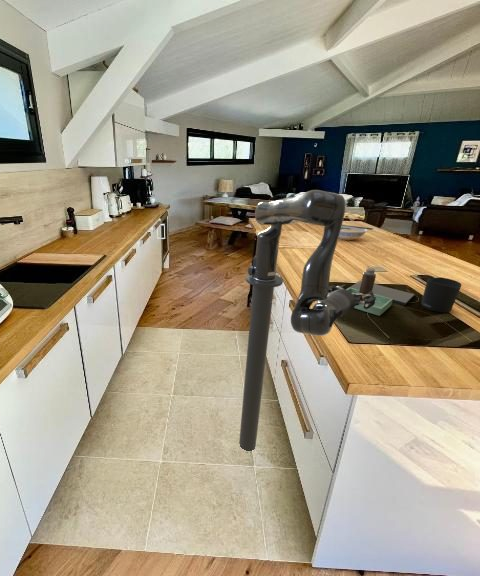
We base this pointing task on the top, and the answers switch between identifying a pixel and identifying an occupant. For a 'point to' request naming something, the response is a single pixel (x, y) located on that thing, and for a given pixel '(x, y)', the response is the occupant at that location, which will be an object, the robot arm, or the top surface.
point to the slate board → (389, 293)
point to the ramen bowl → (352, 232)
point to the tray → (378, 307)
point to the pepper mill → (367, 281)
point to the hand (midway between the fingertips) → (357, 290)
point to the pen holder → (440, 294)
